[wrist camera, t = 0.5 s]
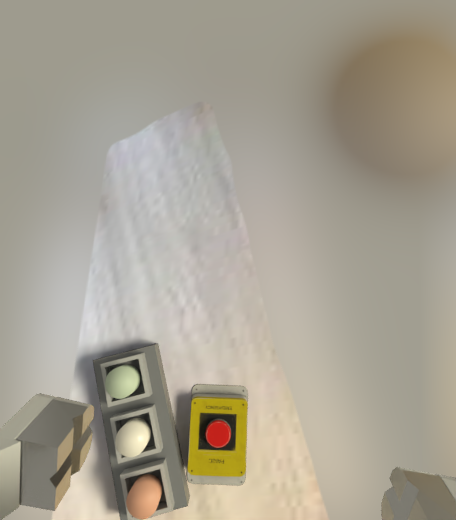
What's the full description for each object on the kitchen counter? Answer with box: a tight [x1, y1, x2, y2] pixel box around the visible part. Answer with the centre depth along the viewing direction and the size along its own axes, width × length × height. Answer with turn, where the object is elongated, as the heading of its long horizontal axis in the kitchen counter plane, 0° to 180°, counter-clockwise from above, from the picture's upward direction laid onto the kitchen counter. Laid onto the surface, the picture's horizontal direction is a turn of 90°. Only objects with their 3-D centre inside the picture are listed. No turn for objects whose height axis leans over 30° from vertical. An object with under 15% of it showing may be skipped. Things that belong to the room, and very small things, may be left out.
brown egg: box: [126, 474, 162, 519], centre depth 48 cm, size 4×4×3 cm
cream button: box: [115, 418, 151, 457], centre depth 49 cm, size 4×4×3 cm
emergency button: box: [187, 384, 248, 486], centre depth 53 cm, size 9×4×15 cm
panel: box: [93, 344, 190, 520], centre depth 53 cm, size 24×10×5 cm, turn 14°
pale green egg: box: [105, 365, 141, 399], centre depth 51 cm, size 4×4×3 cm
